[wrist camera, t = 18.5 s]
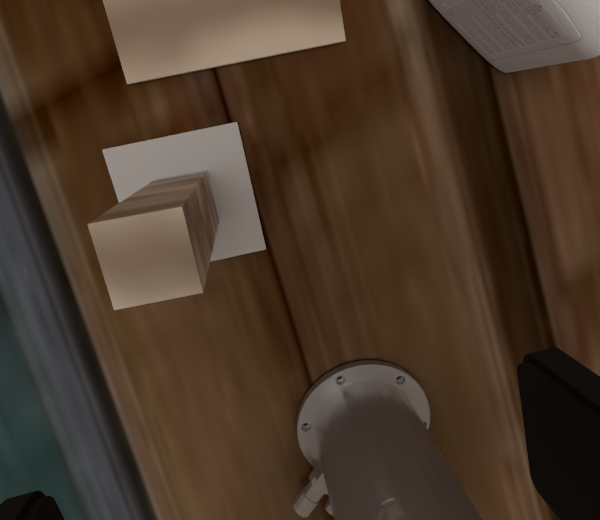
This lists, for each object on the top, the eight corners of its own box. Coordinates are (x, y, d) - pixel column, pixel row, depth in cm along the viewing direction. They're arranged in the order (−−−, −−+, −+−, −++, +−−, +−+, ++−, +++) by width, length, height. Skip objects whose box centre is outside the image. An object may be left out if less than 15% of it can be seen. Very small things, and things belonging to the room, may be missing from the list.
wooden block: (219, 221, 36) (203, 292, 21) (167, 230, 36) (114, 310, 21) (207, 170, 35) (182, 206, 20) (154, 179, 35) (87, 224, 20)
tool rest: (265, 246, 38) (266, 249, 37) (144, 273, 38) (142, 276, 37) (237, 121, 35) (237, 121, 34) (105, 149, 35) (102, 149, 34)
